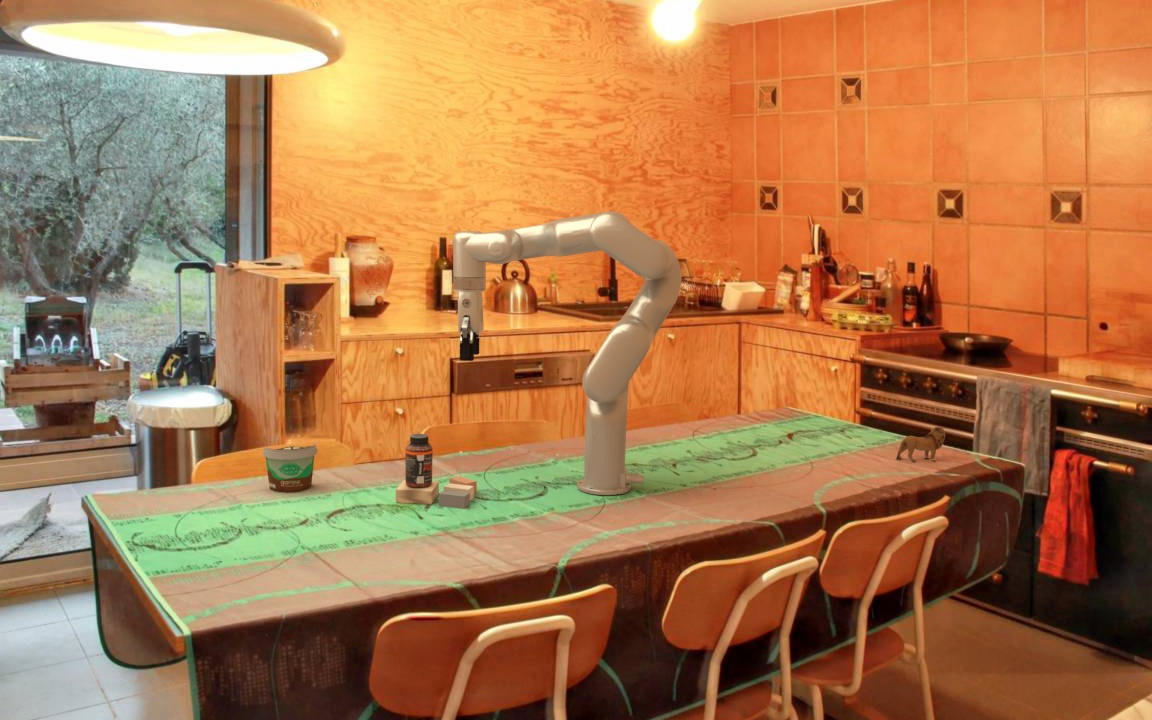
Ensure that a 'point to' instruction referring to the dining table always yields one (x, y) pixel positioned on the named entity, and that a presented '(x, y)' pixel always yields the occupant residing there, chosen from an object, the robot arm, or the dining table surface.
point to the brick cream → (461, 489)
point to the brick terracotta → (464, 482)
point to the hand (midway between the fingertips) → (469, 357)
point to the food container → (290, 468)
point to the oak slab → (417, 493)
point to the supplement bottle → (418, 462)
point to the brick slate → (454, 499)
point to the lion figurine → (923, 443)
